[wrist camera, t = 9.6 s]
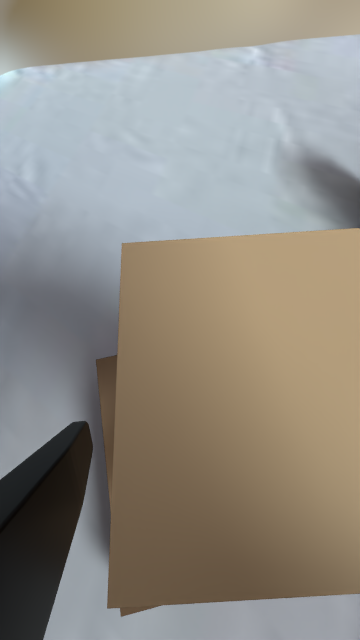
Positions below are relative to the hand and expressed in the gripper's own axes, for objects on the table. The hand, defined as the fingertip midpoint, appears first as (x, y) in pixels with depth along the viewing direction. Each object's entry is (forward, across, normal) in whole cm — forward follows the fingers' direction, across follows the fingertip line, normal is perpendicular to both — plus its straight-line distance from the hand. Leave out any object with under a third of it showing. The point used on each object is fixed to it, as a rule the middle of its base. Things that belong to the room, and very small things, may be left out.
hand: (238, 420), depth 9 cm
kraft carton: (+6, 0, +6) cm, 8 cm away
